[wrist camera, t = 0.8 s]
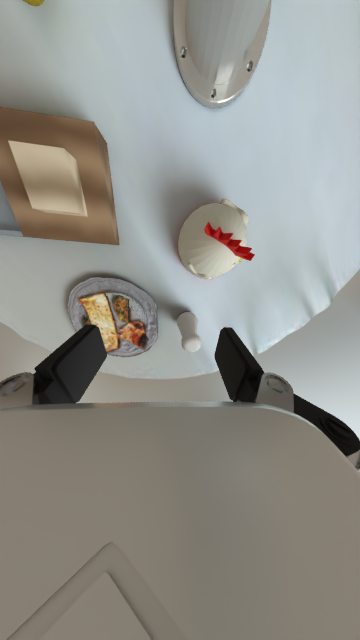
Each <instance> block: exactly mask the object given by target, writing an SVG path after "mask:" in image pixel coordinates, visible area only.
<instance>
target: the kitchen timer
mask: <svg viewBox="0 0 360 640" xmlns="http://www.w3.org/2000/svg"><path fill="white" fill-rule="evenodd" d="M248 221H249V219H248V216H247V214H246V213H245V212H244V211H243V210H241V209H240V208H238V207H237V206H235V205H234V204H233V203H231V202H230V201H229V200H227V199H222V201H221V204H220V203H211V204H207V205H203V206H201V207H199V208H198V209H196V210H195V211H193V212H192V213H191V214H190V216H189V217H188V218H187V219H186V220H185V222H184V224H183V226H182V228H181V230H180V234H179V239H178V253H179V256H180V259H181V262H182V263H183V265H184V266H185V268H186V269H187V270H188V271H189V272H191V273H192V274H193V275H195V276H197V277H200V278H203V279H209V280H211V278H213V277H217V276H220V275H222V274H224V273H226V272H228V271H229V270H230V269H231V268H233V267H234V266H235V265H236V264H237V262H241V258H243V259H246V260H249V261H251V259H252V258H253V257H254V255H255V254H252V253H250V251H251V249H252V248H249V247H246V241H247V229H246V225H245V224H246V223H247V222H248Z"/></svg>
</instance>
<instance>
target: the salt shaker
mask: <svg viewBox="0 0 360 640" xmlns="http://www.w3.org/2000/svg"><path fill="white" fill-rule="evenodd" d="M177 325H178V327H179V330H180V332H181V335H182V337H183V338H182V347H183V349H184V350H186V351H187V352H194V351H197V350H198V349H199V348H200V347H201V339H200V337H199V335H197V325H198V320H197V317H196V315H194V314H193V313H190V312H185V313H182V314H181V315H180V316H179V317H178V319H177Z"/></svg>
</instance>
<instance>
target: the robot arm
mask: <svg viewBox="0 0 360 640" xmlns="http://www.w3.org/2000/svg"><path fill="white" fill-rule="evenodd" d="M270 9H271V0H174V7H173V33H174V47H175V52H176V58H177V63H178V66H179V70H180V73H181V76H182V78H183V81H184V83H185V85H186V87H187V89H188V90H189V92H190V93H191V95H192V96H193V97H194V98H195V99H196V100H197V101H198V102H199V103H201V104H202V105H204V106H206V107H210V108H221V107H223V106H226V105H228V104H230V103H231V102H232V101H234V100H235V99H236V98H237V97H238V96H239V95H240V94H241V93H242V92H243V90H244V89H245V87H246V86H247V84H248V83H249V81H250V79H251V77H252V75H253V73H254V71H255V68H256V66H257V64H258V61H259V59H260V56H261V53H262V50H263V47H264V44H265V40H266V35H267V30H268V26H269V18H270ZM212 97H213V98H212ZM106 357H107V352H106V349H105V346H104V342H103V339H102V336H101V332H100V329H99V327H98V326H96V325H95V324H86V325H84V326H83V327H82V328H81V329H80V330H79V331H77V332H76V333H75V334H74V335H73V336H72V337H70V338H69V339H68V340H67V341H66V342H65V343H63V344H62V345H61V346H60V347H59V348H57V349H56V350H55V351H54V352H53V353H52V354H50V355H49V356H48V357H47V358H46V359H45V360H44V361H42V362H41V363H40V364H39V365H38V366H36V367H35V370H36V373H35V374H32V373H28V372H25V373H20V374H16V375H13V376H11V377H9V378H6V379H5V380H3V381H1V382H0V640H360V441H359V439H358V437H357V436H356V434H355V433H354V432H353V431H352V430H351V429H350V428H349V427H348V426H347V425H346V424H345V423H343V422H342V421H341V420H339V419H338V418H336V417H335V416H333V415H331V414H329V413H327V412H326V411H324V410H322V409H320V408H319V407H317V406H315V405H313V404H311V403H310V402H308V401H306V400H304V399H302V398H301V397H299V396H297V395H295V394H293V389H292V387H291V385H290V384H289V383H288V382H287V381H286V380H285V379H284V378H282V377H280V376H279V375H276V374H274V373H264V371H263V370H262V368H261V367H260V365H259V364H258V363H257V361H256V360H255V358H254V357H253V356H252V354H251V353H250V352H249V350H248V349H247V348H246V346H245V345H244V344H243V342H242V341H241V339H240V338H239V337H238V335H237V334H236V333H235V331H234V330H233V329H232V328H227V327H224V328H223V329H221V331H220V335H219V339H218V343H217V347H216V351H215V360H216V363H217V365H218V368H219V371H220V373H221V376H222V379H223V381H224V384H225V387H226V389H227V392H228V395H229V397H230V399H231V400H233V402H130V403H76V402H78V401H79V400H80V399H81V397H82V396H83V394H84V393H85V391H86V389H87V388H88V386H89V384H90V383H91V381H92V380H93V378H94V376H95V375H96V373H97V372H98V370H99V369H100V367H101V365H102V364H103V362H104V361H105V359H106Z"/></svg>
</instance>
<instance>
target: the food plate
mask: <svg viewBox="0 0 360 640" xmlns="http://www.w3.org/2000/svg"><path fill="white" fill-rule="evenodd" d="M105 293H118V294H119V293H121V294H124V295H127V296H129V297H130V298H132V299H134V300H135V301H136V303H139V308H140V309H141V311H143V312H144V313H143V312H142V315H139V316H138V312H139V310H138V309H137V310H135V311H136V312H135V311H134V310H132V309H130V307H129V299H125V298H124V297H123V296H114V299H113V304H114V309H113V308H112V306H111V302H109V299H108V296H106V294H105ZM132 301H133V300H132ZM67 306H68V308H67V310H68V309H69V311H68V313H70V314H69V316H71V317H70V319H71V321H72V323H73V326H74V328H76V329H75V330H76V332H77V331H79V330H80V329H81V328H82V327H83V326H84V325H86V324H95V325H96V326H98V327H99V329H100V332H101V336H102V339H103V342H104V346H105V349H106V352H107V354H109V355H112V356H121V357H130V356H136V355H139V354H141V353H143V352H146V351H148V350H149V349H150V348H151V347H152V345H153V344H154V343H155V342H156V340H157V338H158V322H157V306H156V304H155V302H154V301H153V299H152V298H151V297H150V296H149V295H148V294H147V293H146V292H144V291H143V290H142V289H139V288H138V287H136V286H135V285H133V284H131V283H129V282H126V281H123V280H120V279H116V278H102V277H101V278H100V277H98V278H96V277H95V278H94V277H93V278H89V279H87V280H85V281H84V282H81V283H79V284H78V285H77V286H76V287H74V289H73V290H72V291H71V293H70V295H69V300H68V305H67ZM131 307H132V306H131ZM132 308H133V307H132ZM142 308H143V310H142ZM137 311H138V312H137ZM145 314H146V317H145ZM143 316H144V317H143ZM140 317H142V318H140ZM143 318H144V319H143ZM143 320H144V321H143ZM146 323H147V324H146Z"/></svg>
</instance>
